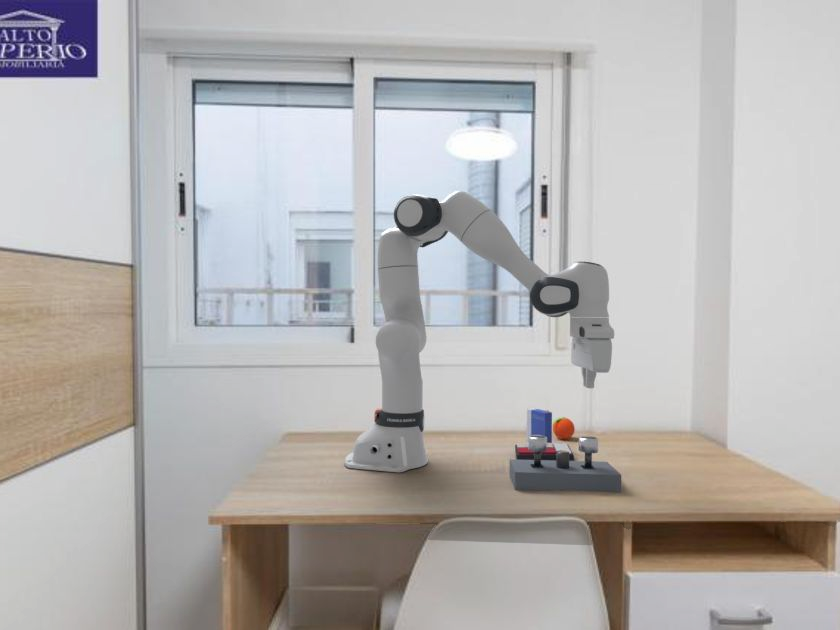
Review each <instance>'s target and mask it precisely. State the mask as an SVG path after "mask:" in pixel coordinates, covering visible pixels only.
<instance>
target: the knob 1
mask: <svg viewBox="0 0 840 630" xmlns="http://www.w3.org/2000/svg"><path fill="white" fill-rule="evenodd" d="M528 449H529V450H530V451H534V466H536V467H540V466H541V452H545V451H547V437H546V436H543V435H529V436H528Z"/></svg>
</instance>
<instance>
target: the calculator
mask: <svg viewBox="0 0 840 630" xmlns="http://www.w3.org/2000/svg"><path fill="white" fill-rule="evenodd" d="M514 449H515V450H514V451H515V453H516V454H515V460H534V451H530V450H529V449H528V443H527V442H517V443H516V444H514ZM559 450H563V451H569V461H575V456H574V452H573V451H572V449H571V447H570V445H569V444H567V443H564V442H562V443H553V442H552V443H547V451H545V452H541V460H556V451H559Z"/></svg>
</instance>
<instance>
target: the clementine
mask: <svg viewBox="0 0 840 630" xmlns="http://www.w3.org/2000/svg"><path fill="white" fill-rule="evenodd" d="M575 429H576V428H575V424H574V422H573V421H572V420H571V419H570V418H568V417H564V416H563V417H558V418H556V419H555V420H554V421H553V422H552V433H554V435H555V436H556V437H557V438H559V439H561V440H568V439H570V438H571V437H573V435H574V434H575Z"/></svg>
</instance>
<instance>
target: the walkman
mask: <svg viewBox="0 0 840 630" xmlns="http://www.w3.org/2000/svg"><path fill="white" fill-rule="evenodd" d="M552 433H553V412H552V411H550V410H549V409H548V410H547V409H544V410H543V409H539V408H534V407H532V408H527V409H526V443H528V436H529V435H543V436H546V437H547V443H552V444H553V436H552V435H553V434H552Z"/></svg>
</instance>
